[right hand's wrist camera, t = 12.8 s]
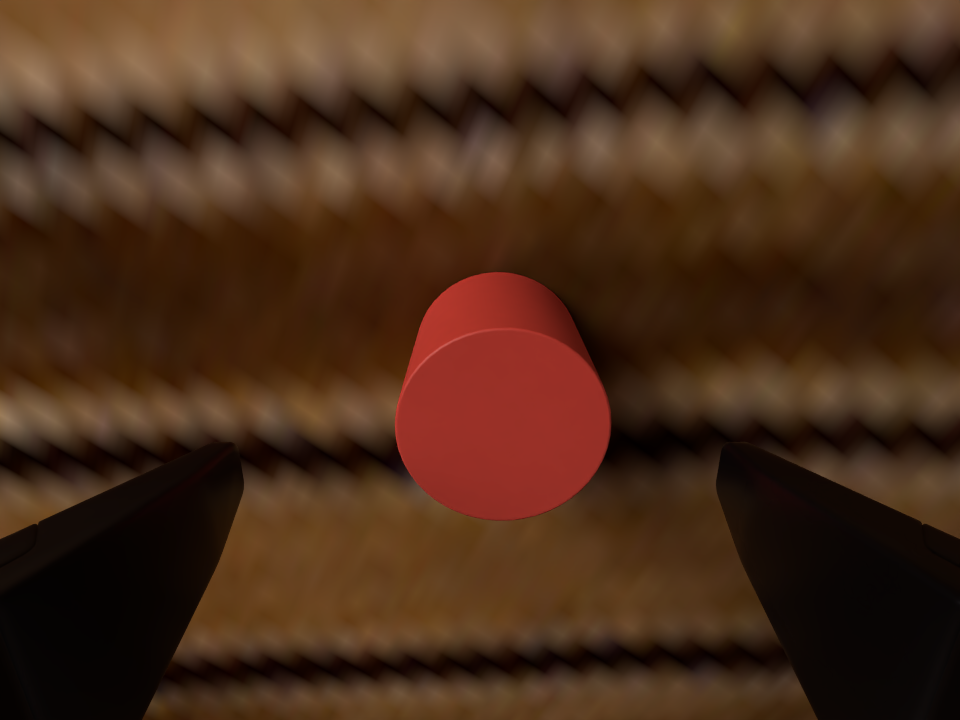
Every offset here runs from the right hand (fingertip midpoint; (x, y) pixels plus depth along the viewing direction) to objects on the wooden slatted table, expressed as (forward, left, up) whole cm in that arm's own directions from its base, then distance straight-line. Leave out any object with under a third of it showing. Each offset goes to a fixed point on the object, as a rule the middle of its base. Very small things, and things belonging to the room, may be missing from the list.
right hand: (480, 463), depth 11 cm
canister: (0, 0, -5) cm, 5 cm away
